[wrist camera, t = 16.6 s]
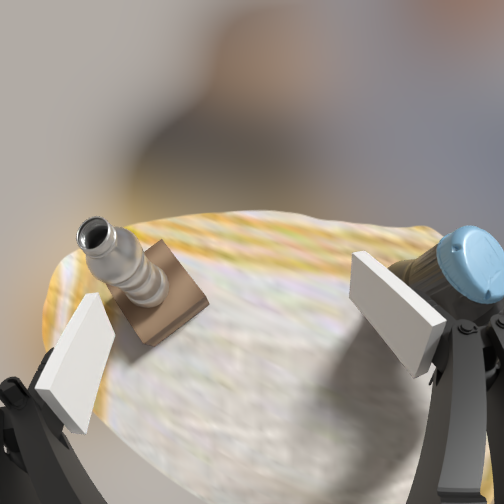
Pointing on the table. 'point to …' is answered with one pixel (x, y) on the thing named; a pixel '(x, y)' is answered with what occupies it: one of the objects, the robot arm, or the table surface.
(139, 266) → the plastic bottle
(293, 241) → the table surface
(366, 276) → the robot arm
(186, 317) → the walnut block
